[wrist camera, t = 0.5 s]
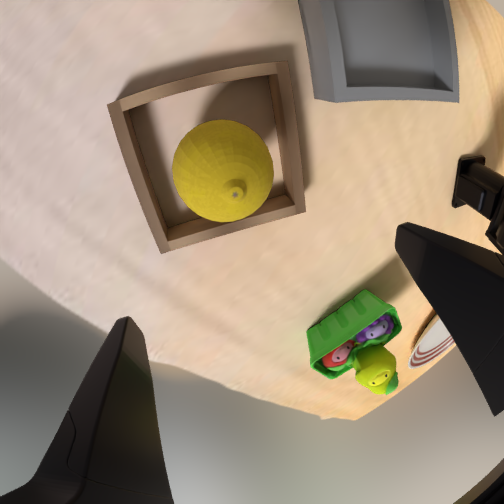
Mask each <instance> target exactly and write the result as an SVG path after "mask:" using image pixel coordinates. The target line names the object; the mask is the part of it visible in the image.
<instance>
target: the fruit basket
mask: <svg viewBox="0 0 504 504" xmlns="http://www.w3.org/2000/svg"><path fill="white" fill-rule="evenodd" d="M401 329H402V326H401V323H400V320H399V317H398V314H397V311H396V309H395V307H393V306H392V305H390V304H387V303H385V302H384V301H382V300H381V299H379V298H378V297H376V296H375V295H374V294H372V293H371V292H369V291H368V290H366V289H364V290H363V291H361V292H360V293H359V294H357V295H356V296H355V297H354V298H353V300H350V301H348V302H347V303H345V304H344V305H343V306H341V307H340V308H339V309H338V310H337V312H334V313H332V314H330V315H329V316H327V317H326V318H325V319H323V320H322V321H321V322H320V323H318V324H316V325H315V326H313V327H312V328H310V329H309V330H307V339H308V345H309V351H310V357H311V358H310V366H311V368H312V369H314V370H316V371H318V372H319V373H321V374H322V375H324V376H325V377H327V378H329V379H334V378H337V377H338V376H340V375H342V374H343V373H345V372H347V371H348V370H350V369H351V368H354V369H355V370H356V376H355V378H356V380H357V381H358V382H359V383H360V384H361V385H363V386H365V387H367V388H369V389H370V391H372V392H373V393H375V394H384V393H385V394H386V395H387V394H389V393H391V392H393V391H394V390H395V389H396V388H397V386H398V377H397V374H398V373H397V372H396V359H395V356H394V355H393V354H392V353H390V352H389V351H388V350H387V349H386V348H385V347H384V345H385V344H386V343H388V342H389V341H390V340H391V339H393V338H394V337H395V336H396V335H397V334H399V332H400V331H401Z"/></svg>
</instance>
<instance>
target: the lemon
mask: <svg viewBox="0 0 504 504" xmlns="http://www.w3.org/2000/svg"><path fill="white" fill-rule="evenodd" d="M172 171H173V180H174V184H175V186H176V189H177V191H178V194H179V196H180V197H181V198H182V200H183V201H184V202H185V204H186V205H187V206H188V207H189V208H190V209H191V210H193V211H194V212H195V213H197V214H198V215H199V216H202V217H204V218H206V219H209V220H211V221H217V222H233V221H236V220H239V219H243V218H245V217H247V216H249V215H250V214H252V213H254V212H255V211H256V210H257V209H258V208H259V207H261V205H262V204H263V203H264V201H265V200H266V199H267V197H268V195H269V193H270V190H271V188H272V183H273V177H274V171H273V161H272V158H271V155H270V153H269V150H268V147H267V146H266V144H265V143H264V142H263V140H262V139H261V138H260V136H259V135H258V134H257V133H255V132H254V131H253V130H252V129H250V128H249V127H248V126H246V125H243V124H241V123H238V122H236V121H231V120H223V119H220V120H213V121H208V122H205V123H203V124H200V125H198V126H196V127H195V128H194V129H192V130H191V131H189V132H188V133H187V134H186V135H185V137H184V138H183V139H182V140H181V142H180V143H179V145H178V147H177V150H176V152H175V154H174V159H173V165H172Z"/></svg>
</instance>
